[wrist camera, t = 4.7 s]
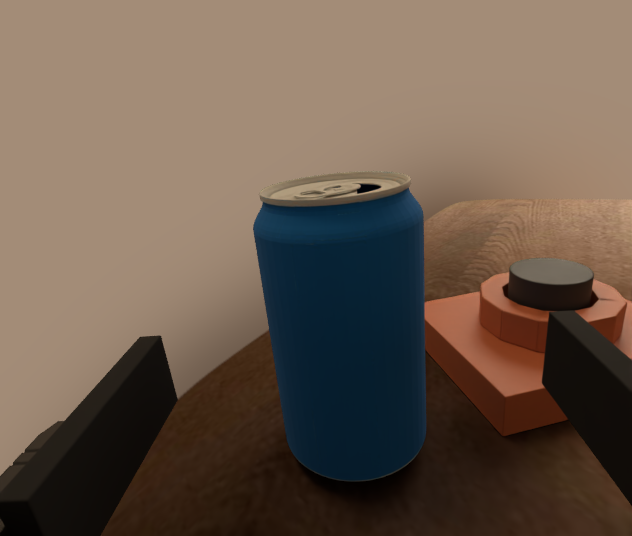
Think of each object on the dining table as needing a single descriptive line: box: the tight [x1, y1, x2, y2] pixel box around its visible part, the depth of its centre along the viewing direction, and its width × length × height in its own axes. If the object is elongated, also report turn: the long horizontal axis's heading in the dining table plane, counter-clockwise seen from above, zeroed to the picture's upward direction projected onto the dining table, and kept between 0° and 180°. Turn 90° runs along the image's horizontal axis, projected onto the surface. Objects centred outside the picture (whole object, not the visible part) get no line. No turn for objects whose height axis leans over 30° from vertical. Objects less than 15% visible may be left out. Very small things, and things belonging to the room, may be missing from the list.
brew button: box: [508, 258, 594, 311], centre depth 23 cm, size 4×4×2 cm
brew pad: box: [425, 272, 632, 436], centre depth 24 cm, size 12×10×4 cm
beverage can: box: [253, 172, 426, 481], centre depth 18 cm, size 6×6×12 cm
